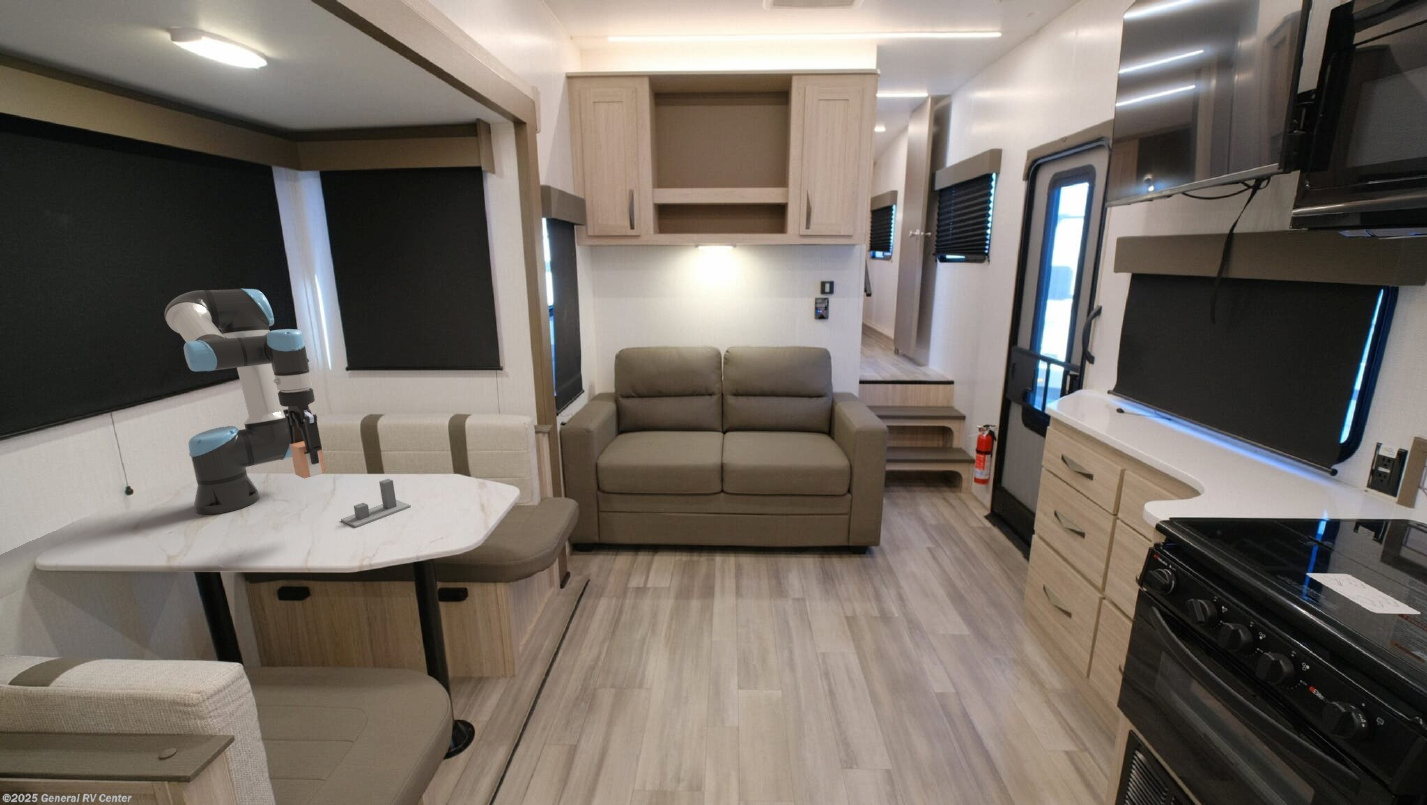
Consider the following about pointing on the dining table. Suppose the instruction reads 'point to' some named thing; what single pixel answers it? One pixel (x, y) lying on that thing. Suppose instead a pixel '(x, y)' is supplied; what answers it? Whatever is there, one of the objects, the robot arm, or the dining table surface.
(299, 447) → the orange block
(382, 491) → the stand
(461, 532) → the dining table surface
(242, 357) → the robot arm
